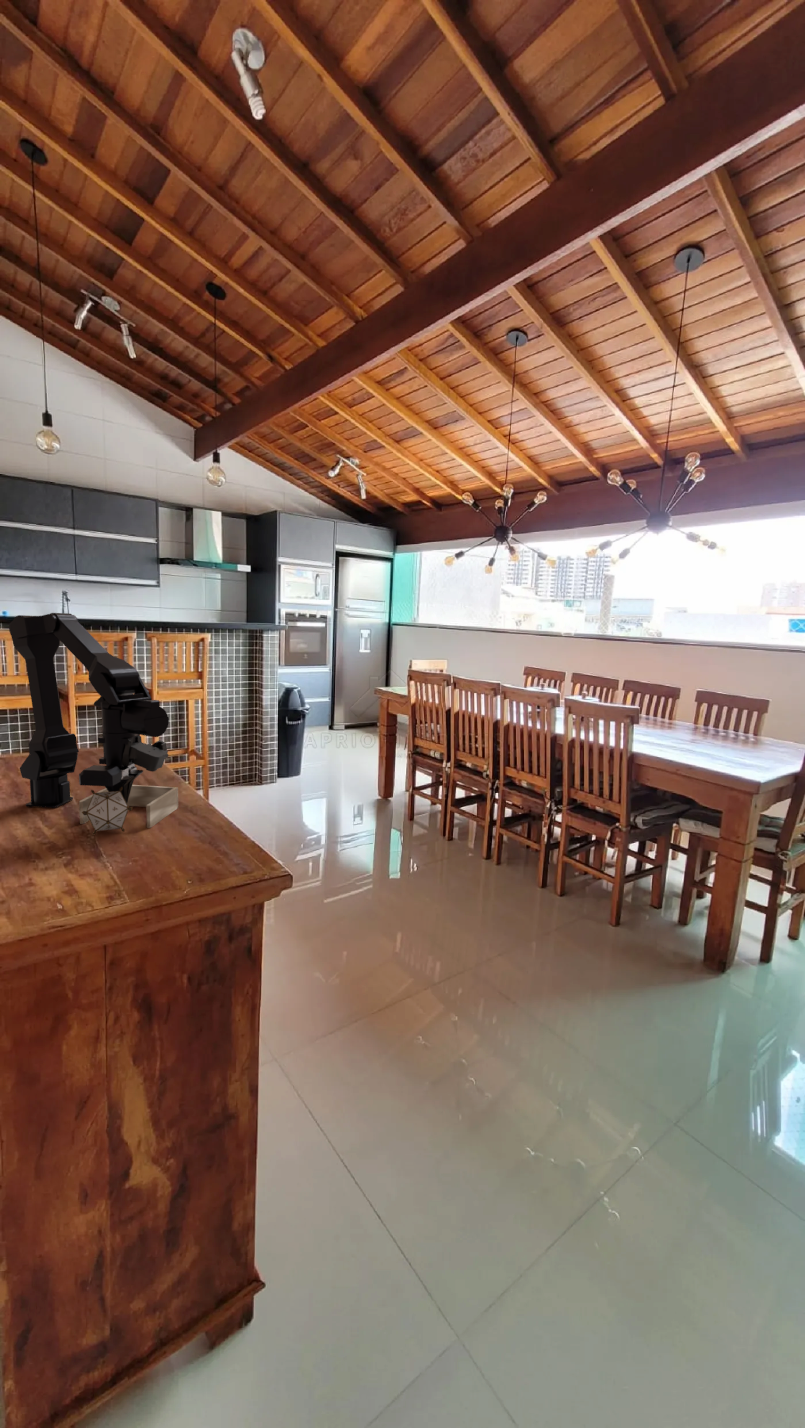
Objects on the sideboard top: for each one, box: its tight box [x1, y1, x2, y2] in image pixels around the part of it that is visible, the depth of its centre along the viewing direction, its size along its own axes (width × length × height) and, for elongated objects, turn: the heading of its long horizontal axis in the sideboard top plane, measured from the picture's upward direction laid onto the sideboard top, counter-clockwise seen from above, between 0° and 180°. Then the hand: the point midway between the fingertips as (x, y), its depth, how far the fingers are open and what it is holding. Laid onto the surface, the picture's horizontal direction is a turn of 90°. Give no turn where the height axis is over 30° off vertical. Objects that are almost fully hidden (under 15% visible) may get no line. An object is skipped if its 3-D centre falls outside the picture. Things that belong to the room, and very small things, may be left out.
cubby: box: [78, 784, 179, 829], centre depth 119 cm, size 14×13×4 cm
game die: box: [82, 787, 134, 836], centre depth 109 cm, size 9×8×10 cm
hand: (122, 808), depth 115 cm, fingers closed
